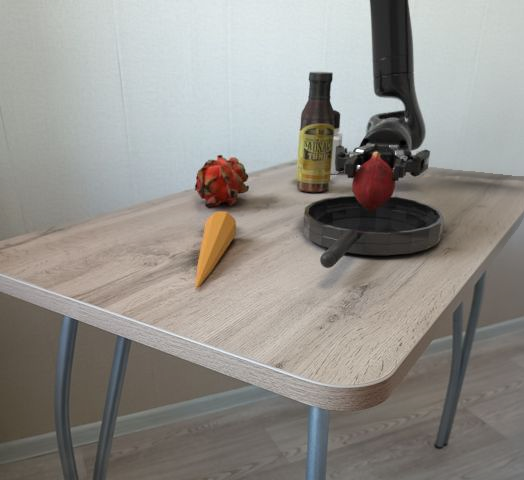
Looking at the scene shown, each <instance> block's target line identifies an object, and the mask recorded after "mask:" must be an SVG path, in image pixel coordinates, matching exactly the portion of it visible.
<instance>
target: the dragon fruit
mask: <svg viewBox="0 0 524 480" xmlns="http://www.w3.org/2000/svg"><path fill="white" fill-rule="evenodd" d="M248 179H249V174H248V173H247V171H246V168H245V165H244V164H243V163H242V162H239V160H238V158H237V157H236V156H235V157H234V156H233V157H230V158H229V159H227V158H226V157H224V156H223V155H222V154H218V155H216V159H207V161H206V162H205V163H204V165H203V166H202V167H200V168H199V169H198V171H197V173H196V179H195V180H196V181H195V185H194V191H196V192H197V194H198V196H199V197H200V198H201V199H202V200H203V199H204V200H205V204H204V207H206V208H208V207H214V206H215V207H218V206H219V205H220V204H222V203H224V202H225V203H226V204H228V205H229V206H233V205H234V204H235V203H237V202H238V200H239V198H238V196H239V195H240V194H245V193H247V192H248V191H249V189H250V186H249V185H246V184H245V183H246V182H247V181H248Z"/></svg>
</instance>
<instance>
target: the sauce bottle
mask: <svg viewBox="0 0 524 480" xmlns="http://www.w3.org/2000/svg"><path fill="white" fill-rule="evenodd" d="M333 74H334V73H333V72H332V71H309V73H308V82H309V88H308V96H307V98H308V99H307V101H306V104H305V105H304V107H303V109H302V111H301V114H300V126H299V134H298V149H297V162H296V163H297V166H296V180H297V181H296V188H297V190H299V191H301V192H305V193H324V192H326V191H328V188H329V184H330V182H331V174H330V172H331V161H332V150H333V138H334V110H335V109H334V108H333V106H332V103H331V90H332V89H331V87H332V82H333V78H334V77H333V76H334V75H333Z"/></svg>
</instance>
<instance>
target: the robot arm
mask: <svg viewBox="0 0 524 480" xmlns="http://www.w3.org/2000/svg"><path fill="white" fill-rule="evenodd" d="M369 6H370V7H369V11H370V32H371V33H370V34H371V36H370V37H371V63H372V79H373V80H372V85H373V93H374V95H375V96H376V97H377V98H381V99H393V100H397V101H399V102H401V103H402V105H403V108H404V109H402V110H395V111H394V110H393V111H387V112H380V113H376V114H373V115H372V116H370V117H369V119H368V121H367V122H366V127H365V135H364V137H363V139H362V140H361V142H360V144H359V146H358V147H355V148H354V149H353V151H348V147H345V146H344V145H342V146H341V145H339V146H336V152H335V169H336V171H338V172H339V173H342V172H343V174H344V175H347V178H348V179H353V178H354V176H355V174H356V172H357V170H358V169H359V168H360V167H361V166H362V165H363V164H364V163H366V162H367V161H369V160H370V159H371V157H372V155H373V153H374V152H379V153H380V158H381V159H382V160H383V161H384V162H386V163H387V164H388V165H389V166H390V168H391V169H392V171H393V181H395V182H399V180H400V179H403V178H405V177H406V176H407V173H410V174H409V175H410V176H411V177H418V176H421V175H422V174H423V173H424V172H426V171H427V170H428V169H429V163H430V155H431V150H428V149H423V150H420V151H416V150H418V149H420V147H421V146H423V143H424V141H425V139H426V134H427V129H426V123H425V120H424V117H423V114H422V111H421V107H420V104H419V101H418V97H417V92H416V84H415V61H414V59H415V57H414V56H415V55H414V39H413V38H414V36H413V28H412V20H411V13H410V3H409V0H369ZM413 151H416V154H412V152H413Z"/></svg>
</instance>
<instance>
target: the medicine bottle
mask: <svg viewBox="0 0 524 480" xmlns="http://www.w3.org/2000/svg"><path fill="white" fill-rule="evenodd" d="M333 110H334V138H333V150H332V161H331V172H330V175H339V173H340V172H338V171H336V169H335V152H336V146H339V145H341V146H343V134H342V133H340V129H341V128H340V127H341V126H340V125H341V113H340V112H339V111H338V110H335V109H333Z"/></svg>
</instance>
